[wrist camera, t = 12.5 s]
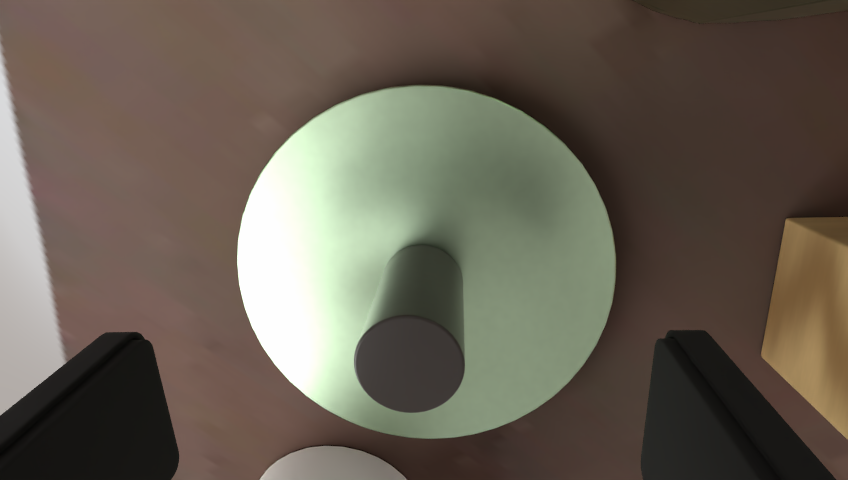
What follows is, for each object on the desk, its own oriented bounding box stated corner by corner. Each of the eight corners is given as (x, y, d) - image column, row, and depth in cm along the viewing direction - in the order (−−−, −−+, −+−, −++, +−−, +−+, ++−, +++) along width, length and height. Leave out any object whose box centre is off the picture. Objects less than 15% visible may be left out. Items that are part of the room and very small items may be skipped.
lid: (222, 91, 16) (96, 105, 11) (621, 75, 16) (717, 81, 10) (273, 419, 20) (200, 559, 15) (595, 420, 19) (654, 571, 14)
